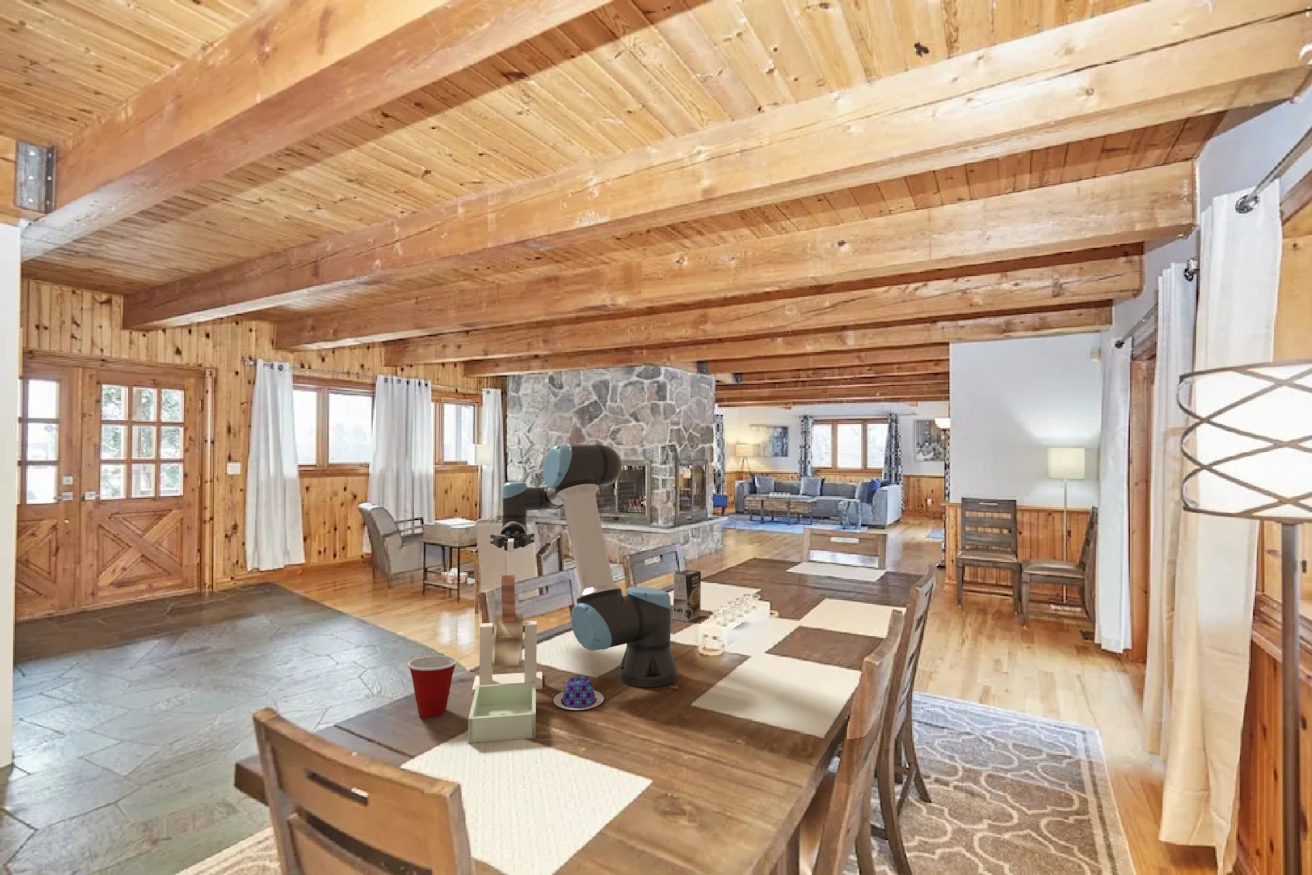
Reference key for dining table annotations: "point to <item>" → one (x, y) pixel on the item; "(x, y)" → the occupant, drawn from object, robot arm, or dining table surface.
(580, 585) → the robot arm
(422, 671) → the plastic cup
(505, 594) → the lever
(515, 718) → the tray
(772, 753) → the dining table surface
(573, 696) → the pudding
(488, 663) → the stand
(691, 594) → the coffee box
